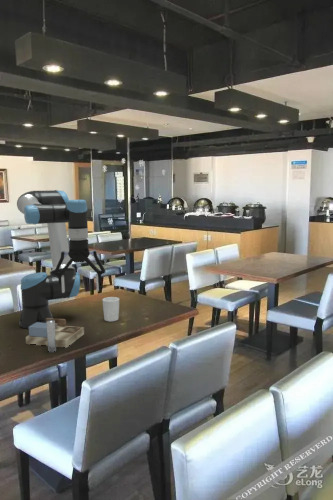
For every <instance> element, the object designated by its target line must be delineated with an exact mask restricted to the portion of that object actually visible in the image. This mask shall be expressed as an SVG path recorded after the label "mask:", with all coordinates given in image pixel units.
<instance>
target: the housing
mask: <svg viewBox="0 0 333 500" xmlns="http://www.w3.org/2000/svg"><path fill="white" fill-rule="evenodd" d="M28 335H29V336H37V337H47V323H41V322H36V323H34V324H33V325H31V326H29V329H28Z"/></svg>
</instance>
